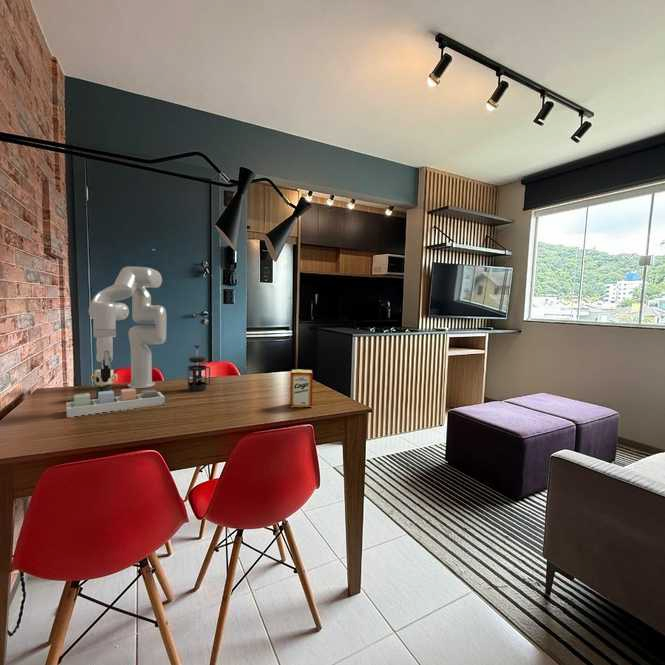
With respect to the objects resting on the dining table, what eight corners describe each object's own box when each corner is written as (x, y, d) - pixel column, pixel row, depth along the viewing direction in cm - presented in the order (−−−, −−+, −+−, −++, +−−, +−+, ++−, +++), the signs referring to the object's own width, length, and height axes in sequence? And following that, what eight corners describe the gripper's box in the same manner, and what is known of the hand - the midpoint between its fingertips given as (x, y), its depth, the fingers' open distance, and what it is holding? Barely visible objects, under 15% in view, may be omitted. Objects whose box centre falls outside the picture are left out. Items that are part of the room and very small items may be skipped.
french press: (183, 391, 175) (183, 346, 173) (189, 387, 184) (189, 343, 183) (207, 392, 176) (207, 346, 174) (212, 387, 185) (212, 344, 184)
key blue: (98, 401, 144) (98, 391, 144) (112, 399, 147) (112, 390, 147) (99, 404, 140) (99, 394, 140) (114, 402, 143) (113, 392, 143)
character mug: (87, 400, 155) (86, 371, 154) (95, 396, 162) (94, 368, 161) (114, 400, 157) (113, 371, 156) (120, 396, 164) (120, 368, 163)
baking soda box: (311, 403, 161) (312, 369, 160) (311, 408, 154) (312, 372, 153) (290, 403, 160) (291, 369, 159) (290, 408, 153) (290, 371, 152)
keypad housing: (66, 411, 140) (66, 402, 140) (159, 399, 161) (159, 391, 161) (66, 418, 132) (66, 408, 132) (164, 404, 153) (164, 396, 153)
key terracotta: (120, 398, 149) (120, 389, 149) (134, 397, 152) (134, 388, 152) (122, 401, 145) (122, 392, 145) (136, 399, 148) (136, 390, 148)
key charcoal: (142, 399, 154) (142, 390, 154) (154, 398, 157) (154, 389, 157) (144, 402, 150) (144, 393, 150) (157, 400, 153) (157, 391, 153)
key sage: (74, 404, 139) (73, 394, 139) (89, 402, 142) (89, 392, 142) (74, 407, 135) (74, 397, 135) (90, 405, 139) (90, 395, 138)
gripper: (92, 332, 145) (93, 376, 147) (95, 335, 134) (96, 382, 135) (113, 331, 150) (114, 374, 151) (118, 334, 138) (119, 380, 139)
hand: (105, 378), depth 143 cm, fingers closed
